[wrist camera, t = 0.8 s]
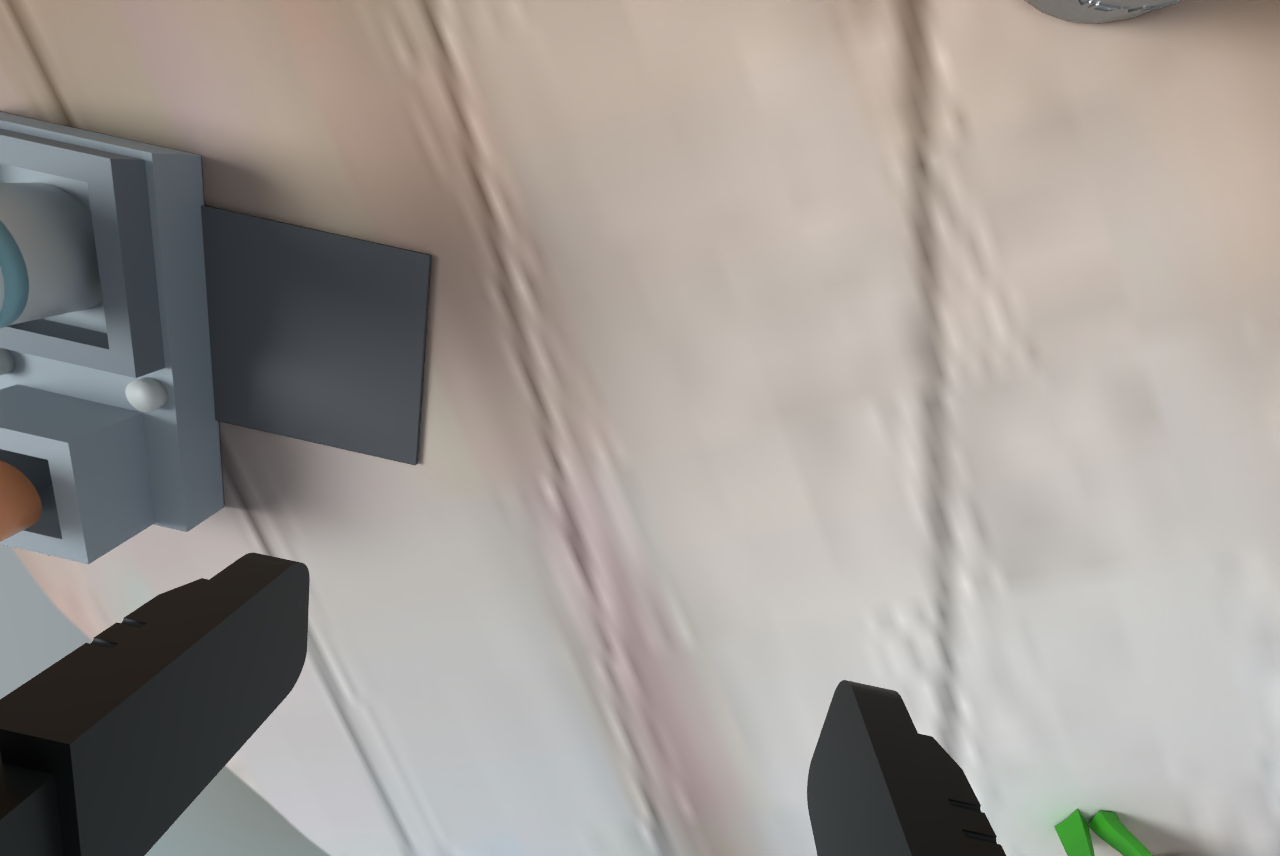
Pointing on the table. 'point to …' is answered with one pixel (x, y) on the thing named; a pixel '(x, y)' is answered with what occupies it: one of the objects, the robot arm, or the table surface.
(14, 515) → the plunger
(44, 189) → the cartridge
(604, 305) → the table surface
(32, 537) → the housing
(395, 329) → the pad
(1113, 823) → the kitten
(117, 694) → the robot arm
